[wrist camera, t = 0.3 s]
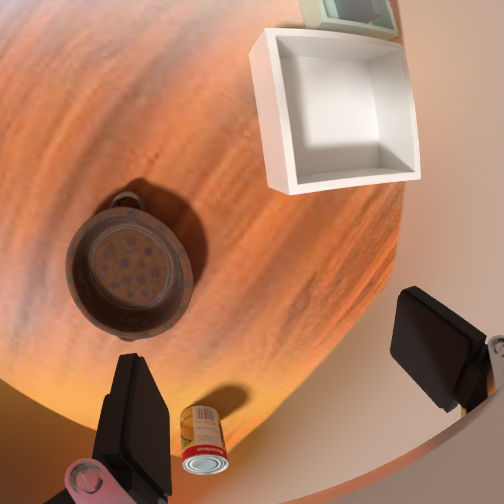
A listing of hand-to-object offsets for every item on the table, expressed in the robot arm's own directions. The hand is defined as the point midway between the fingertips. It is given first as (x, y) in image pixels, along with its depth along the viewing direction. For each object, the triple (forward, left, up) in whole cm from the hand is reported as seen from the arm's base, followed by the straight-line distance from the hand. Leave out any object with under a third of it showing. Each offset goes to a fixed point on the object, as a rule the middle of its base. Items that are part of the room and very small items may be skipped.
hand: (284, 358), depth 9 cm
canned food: (+39, -11, -31) cm, 51 cm away
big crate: (-11, +17, -31) cm, 37 cm away
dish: (+6, -13, -31) cm, 34 cm away
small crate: (-30, +23, -31) cm, 49 cm away
